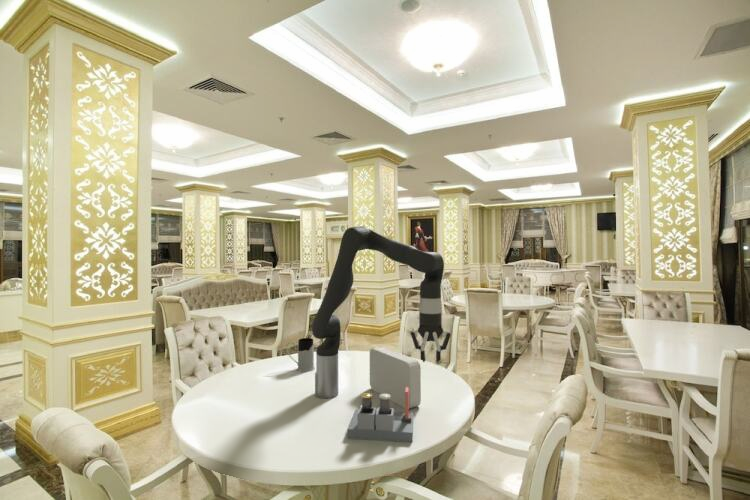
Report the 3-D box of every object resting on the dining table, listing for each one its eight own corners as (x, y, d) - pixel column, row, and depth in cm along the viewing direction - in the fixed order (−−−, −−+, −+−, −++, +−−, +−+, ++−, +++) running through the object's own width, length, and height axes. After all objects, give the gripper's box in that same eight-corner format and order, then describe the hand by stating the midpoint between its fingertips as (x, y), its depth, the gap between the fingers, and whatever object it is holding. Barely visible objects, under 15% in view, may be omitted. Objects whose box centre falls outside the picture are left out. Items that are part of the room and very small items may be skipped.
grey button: (379, 413, 123) (379, 397, 123) (380, 408, 126) (380, 393, 126) (390, 413, 122) (390, 398, 122) (390, 409, 126) (390, 393, 126)
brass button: (360, 412, 123) (360, 396, 123) (362, 407, 127) (362, 392, 127) (371, 412, 123) (371, 397, 123) (373, 408, 127) (372, 393, 127)
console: (347, 438, 123) (347, 413, 123) (355, 417, 138) (355, 395, 138) (412, 442, 120) (412, 416, 120) (413, 420, 135) (413, 398, 135)
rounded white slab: (425, 406, 148) (425, 360, 148) (410, 411, 144) (410, 363, 144) (383, 384, 172) (383, 345, 172) (369, 388, 167) (369, 347, 167)
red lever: (402, 421, 127) (402, 391, 127) (402, 415, 132) (402, 387, 132) (411, 421, 127) (411, 392, 127) (411, 416, 131) (411, 387, 131)
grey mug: (313, 371, 190) (312, 341, 190) (284, 371, 190) (284, 341, 190) (315, 366, 199) (315, 337, 199) (288, 366, 199) (288, 337, 199)
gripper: (409, 312, 126) (409, 364, 126) (452, 313, 124) (452, 365, 124) (409, 308, 133) (409, 357, 133) (450, 309, 131) (450, 359, 131)
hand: (430, 361), depth 128 cm, fingers open, 4 cm apart
